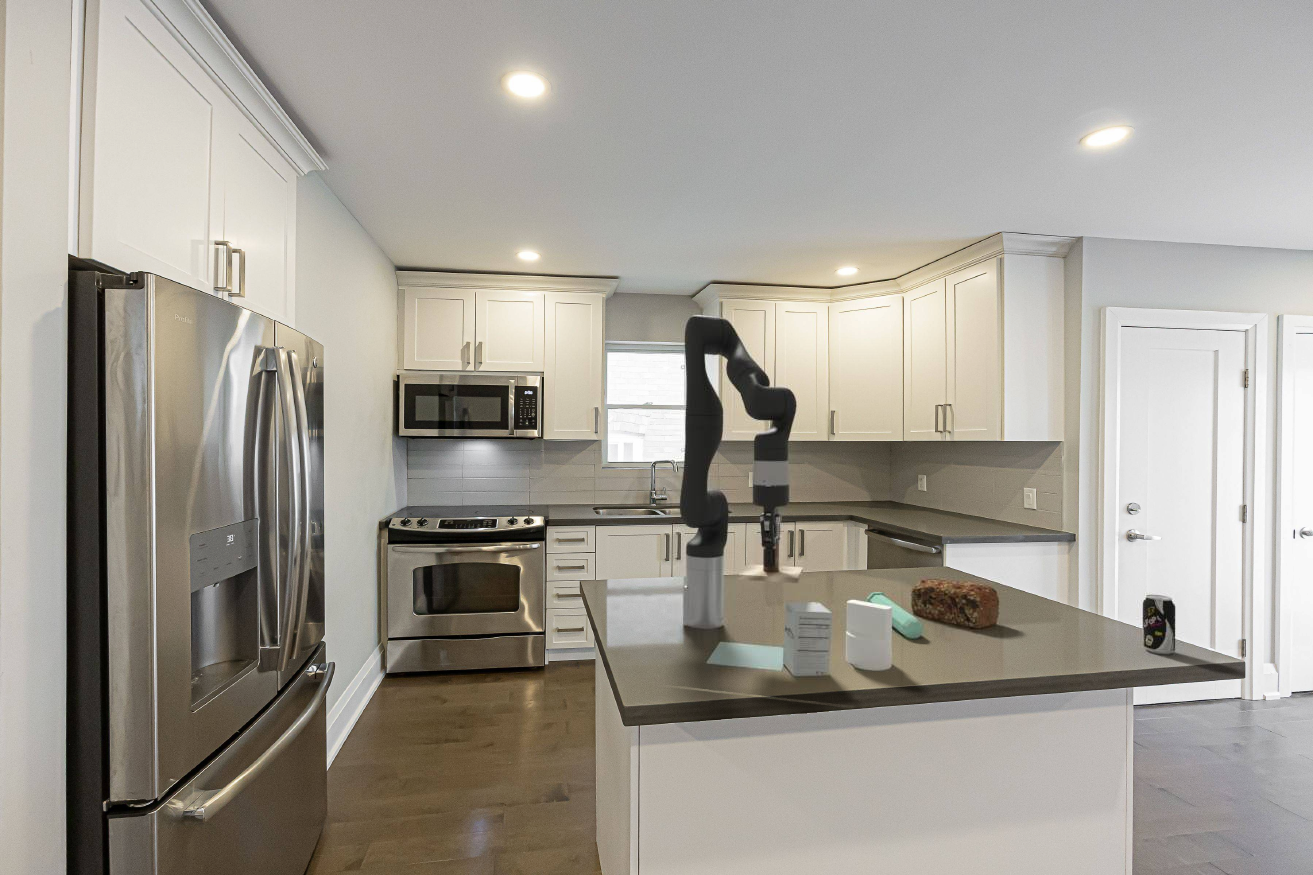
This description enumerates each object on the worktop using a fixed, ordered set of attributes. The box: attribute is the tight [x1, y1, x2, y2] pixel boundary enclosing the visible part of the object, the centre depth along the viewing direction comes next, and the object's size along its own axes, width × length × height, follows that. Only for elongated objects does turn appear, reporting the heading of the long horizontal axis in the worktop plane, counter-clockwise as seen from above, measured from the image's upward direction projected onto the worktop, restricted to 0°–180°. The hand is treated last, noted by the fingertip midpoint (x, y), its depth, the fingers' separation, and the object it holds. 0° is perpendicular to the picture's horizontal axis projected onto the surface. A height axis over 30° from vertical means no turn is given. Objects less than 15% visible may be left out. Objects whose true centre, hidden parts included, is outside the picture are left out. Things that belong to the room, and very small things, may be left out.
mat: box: [706, 641, 785, 672], centre depth 141 cm, size 15×15×1 cm
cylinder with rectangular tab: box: [845, 599, 893, 671], centre depth 138 cm, size 9×9×12 cm
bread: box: [910, 578, 1000, 629], centre depth 173 cm, size 19×11×10 cm, turn 34°
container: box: [866, 591, 923, 639], centre depth 167 cm, size 6×6×25 cm
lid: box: [736, 541, 804, 584], centre depth 140 cm, size 12×12×7 cm
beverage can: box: [1141, 594, 1176, 655], centre depth 147 cm, size 6×6×12 cm
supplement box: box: [783, 601, 833, 677], centre depth 133 cm, size 7×7×13 cm
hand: (770, 565), depth 140 cm, fingers closed on lid, 3 cm apart
